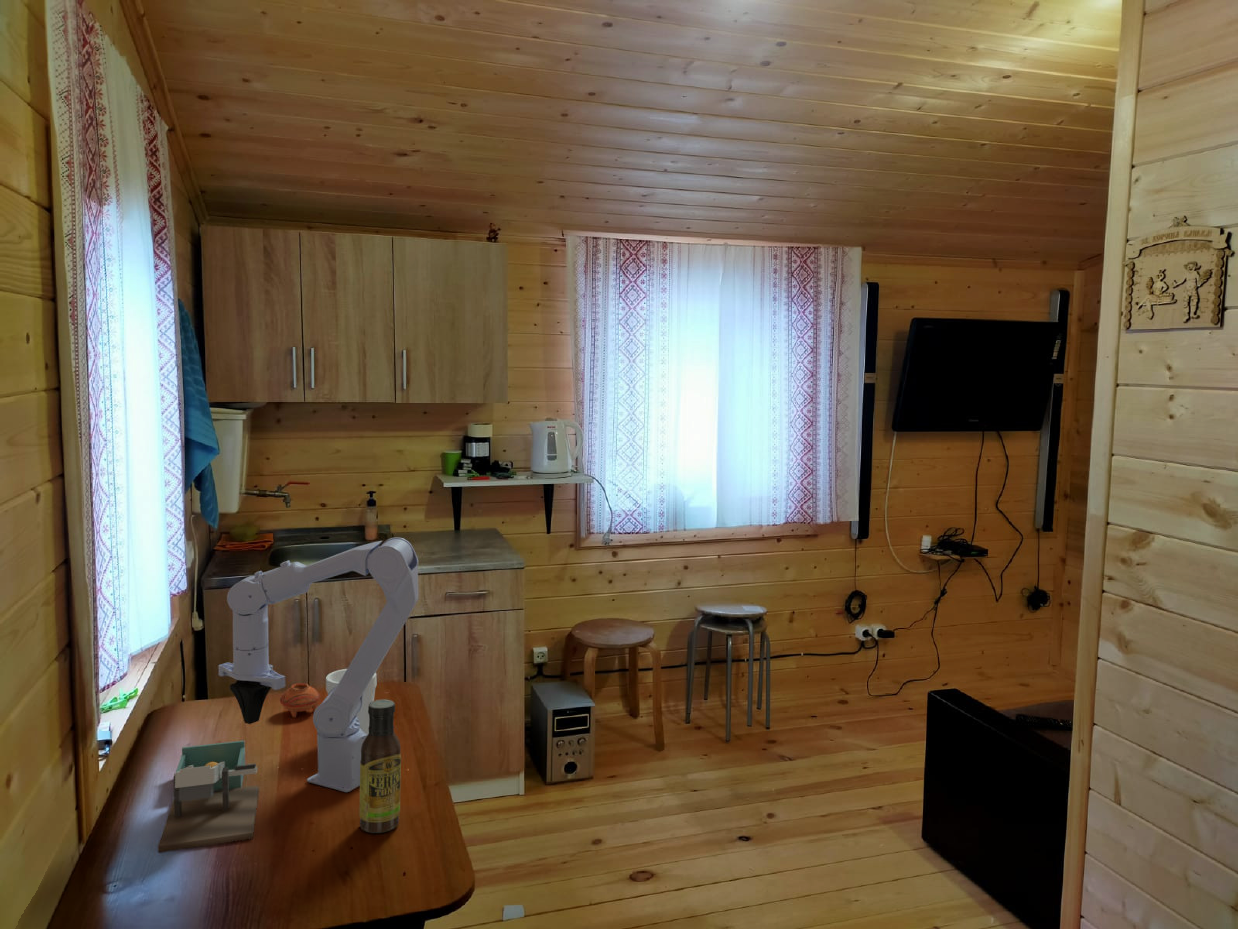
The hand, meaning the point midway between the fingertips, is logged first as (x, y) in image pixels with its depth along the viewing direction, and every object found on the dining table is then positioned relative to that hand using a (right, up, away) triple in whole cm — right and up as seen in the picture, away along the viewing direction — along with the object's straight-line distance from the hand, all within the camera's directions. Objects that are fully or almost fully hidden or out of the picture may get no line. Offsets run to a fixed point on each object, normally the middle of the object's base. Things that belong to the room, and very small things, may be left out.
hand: (251, 721), depth 155 cm
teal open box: (-7, -10, -1) cm, 12 cm away
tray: (0, -7, -14) cm, 16 cm away
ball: (-7, -9, 0) cm, 11 cm away
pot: (-3, -8, +33) cm, 34 cm away
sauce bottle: (+27, -12, -15) cm, 33 cm away
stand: (-1, -12, -14) cm, 18 cm away
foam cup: (+12, -9, +18) cm, 24 cm away
